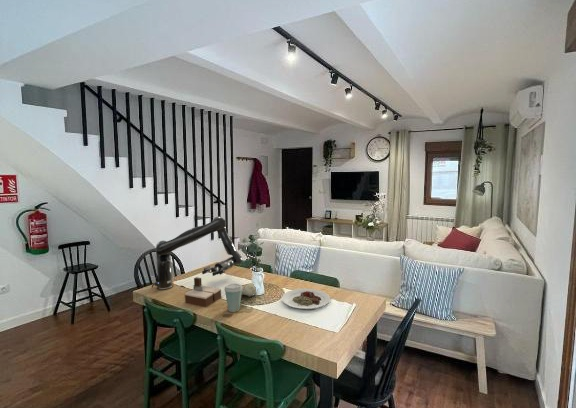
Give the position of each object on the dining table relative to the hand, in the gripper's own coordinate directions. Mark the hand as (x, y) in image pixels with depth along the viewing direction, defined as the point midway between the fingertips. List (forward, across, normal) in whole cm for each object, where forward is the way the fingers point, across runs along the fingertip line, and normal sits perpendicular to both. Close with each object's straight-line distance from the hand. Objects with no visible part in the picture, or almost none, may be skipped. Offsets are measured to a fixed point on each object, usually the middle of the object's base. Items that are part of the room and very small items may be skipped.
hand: (207, 273), depth 208 cm
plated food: (-13, +65, +14) cm, 68 cm away
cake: (+10, +4, +14) cm, 18 cm away
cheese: (-10, +28, +14) cm, 32 cm away
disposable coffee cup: (+14, +30, +14) cm, 36 cm away
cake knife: (+10, 0, +14) cm, 17 cm away
